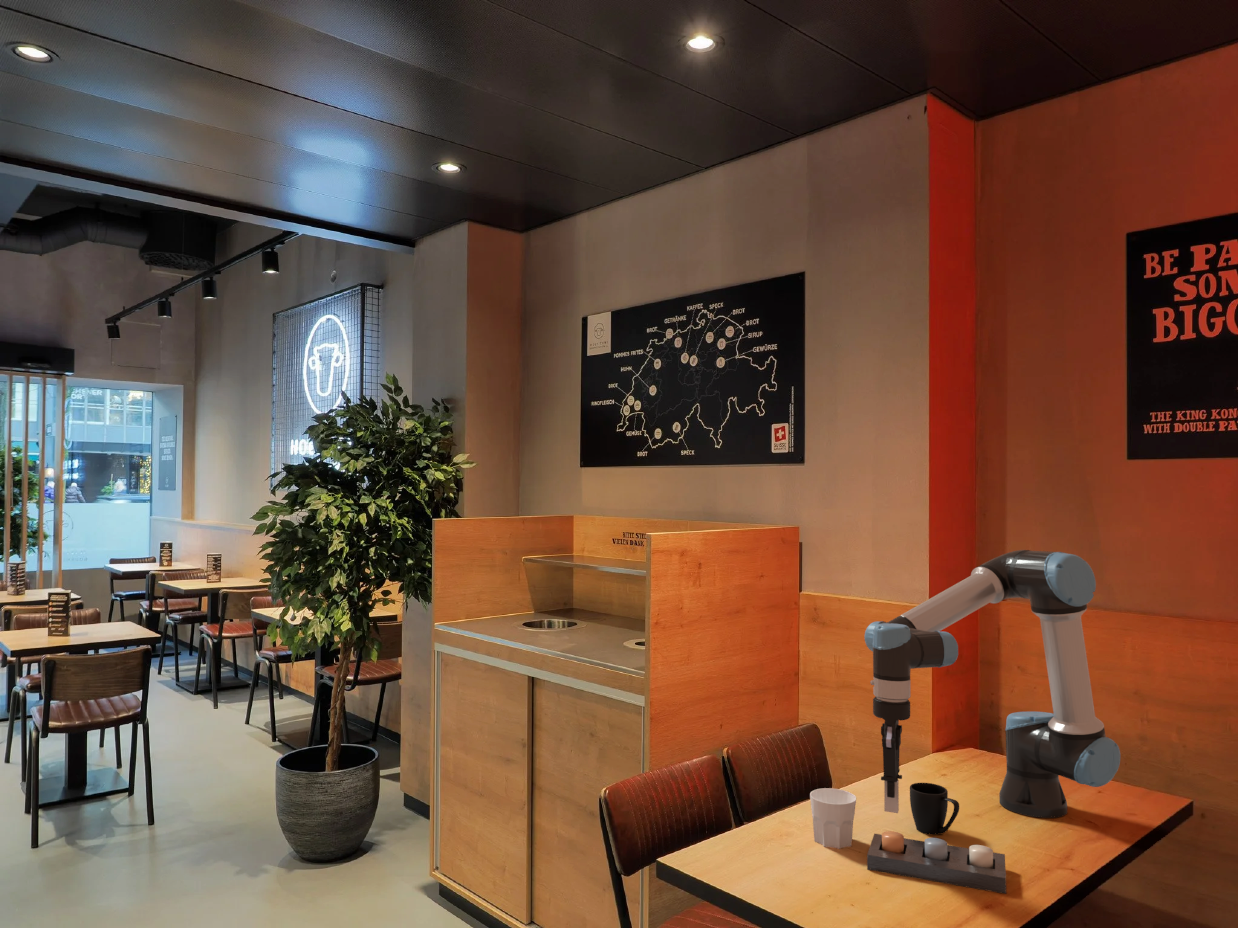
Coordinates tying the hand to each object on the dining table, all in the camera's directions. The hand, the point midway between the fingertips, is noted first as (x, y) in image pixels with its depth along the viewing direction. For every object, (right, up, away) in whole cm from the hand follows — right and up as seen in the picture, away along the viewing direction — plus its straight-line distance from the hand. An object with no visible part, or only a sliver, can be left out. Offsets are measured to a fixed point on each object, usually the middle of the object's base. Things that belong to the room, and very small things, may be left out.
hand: (891, 810), depth 177 cm
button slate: (+8, -9, -4) cm, 12 cm away
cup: (-10, -11, +10) cm, 18 cm away
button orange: (0, -9, 0) cm, 9 cm away
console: (+8, -11, -4) cm, 14 cm away
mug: (+15, -12, +15) cm, 24 cm away
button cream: (+16, -9, -7) cm, 19 cm away
